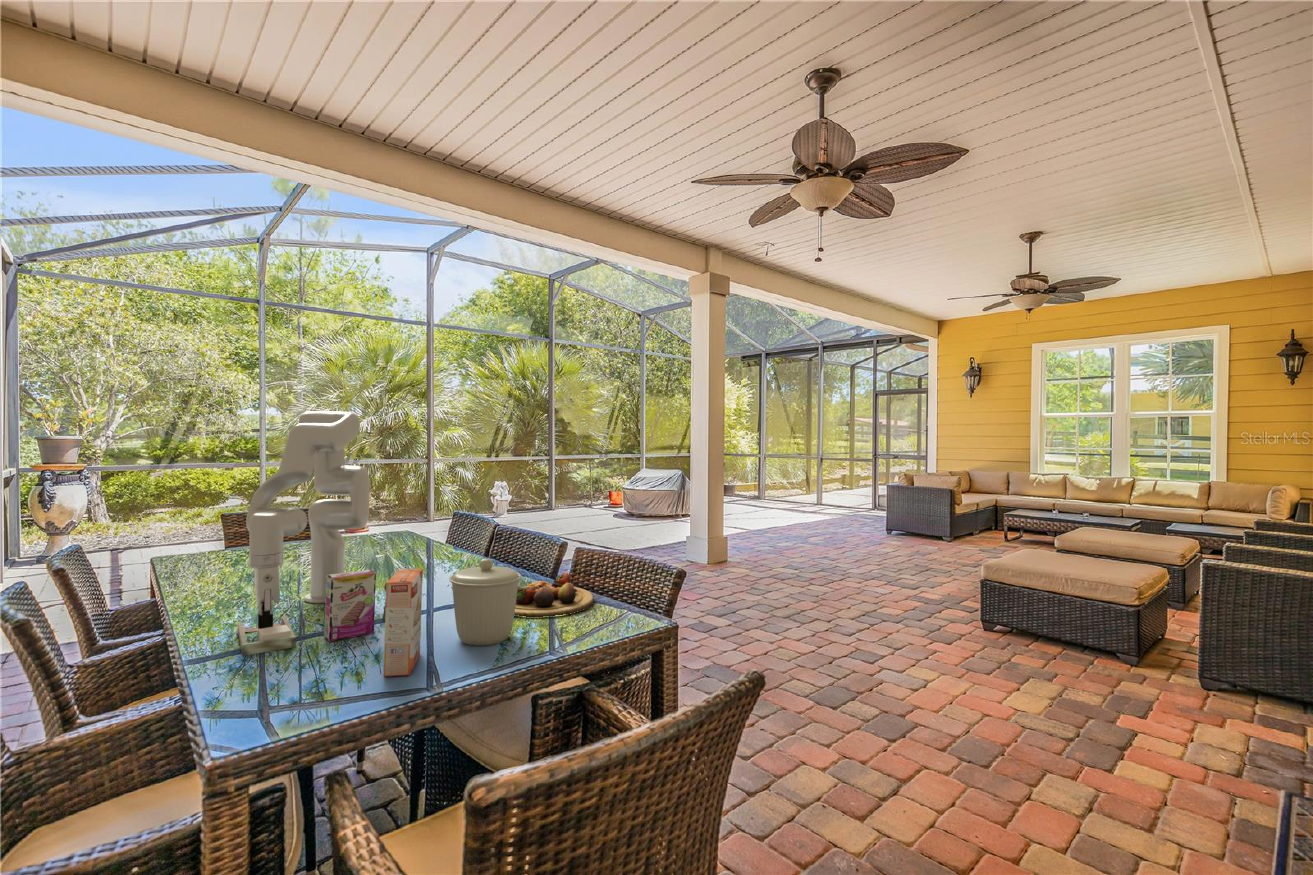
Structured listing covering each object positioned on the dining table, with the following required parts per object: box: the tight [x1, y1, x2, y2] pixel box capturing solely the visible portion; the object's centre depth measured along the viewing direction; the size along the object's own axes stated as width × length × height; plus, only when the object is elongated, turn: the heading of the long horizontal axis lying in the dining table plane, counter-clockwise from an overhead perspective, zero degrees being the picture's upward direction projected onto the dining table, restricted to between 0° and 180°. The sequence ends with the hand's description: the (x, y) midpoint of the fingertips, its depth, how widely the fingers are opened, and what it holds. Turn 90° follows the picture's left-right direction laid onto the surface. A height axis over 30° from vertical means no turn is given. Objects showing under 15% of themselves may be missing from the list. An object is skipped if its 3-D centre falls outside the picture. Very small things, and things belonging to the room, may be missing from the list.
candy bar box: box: [323, 569, 377, 643], centre depth 160 cm, size 11×5×16 cm, turn 134°
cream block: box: [257, 624, 291, 642], centre depth 152 cm, size 6×6×4 cm
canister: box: [449, 558, 522, 646], centre depth 159 cm, size 18×18×21 cm
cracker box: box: [383, 568, 424, 677], centre depth 140 cm, size 14×6×21 cm, turn 12°
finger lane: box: [237, 615, 297, 656], centre depth 157 cm, size 11×23×2 cm, turn 37°
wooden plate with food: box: [514, 572, 594, 617], centre depth 194 cm, size 32×32×8 cm
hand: (265, 629), depth 160 cm, fingers closed
